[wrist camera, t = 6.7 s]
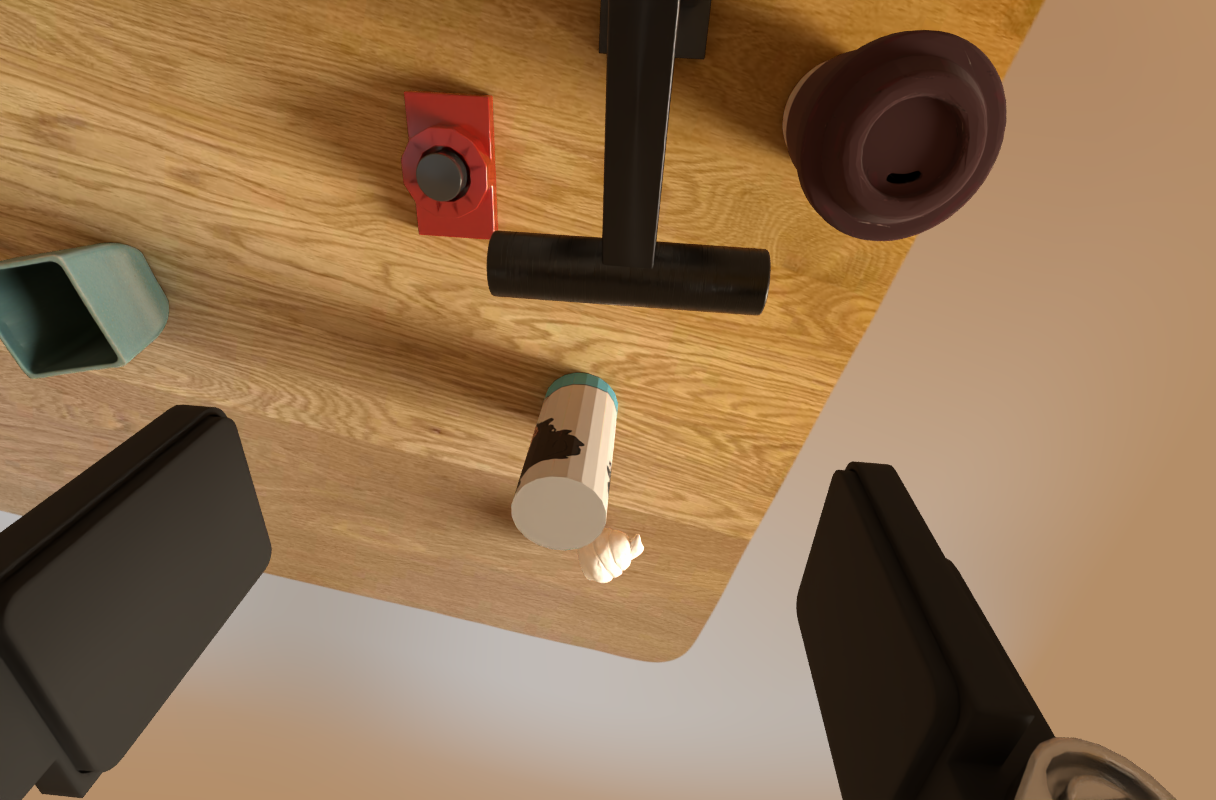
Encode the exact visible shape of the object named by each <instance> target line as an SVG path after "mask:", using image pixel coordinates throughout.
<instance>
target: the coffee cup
mask: <svg viewBox="0 0 1216 800" xmlns="http://www.w3.org/2000/svg"><path fill="white" fill-rule="evenodd" d="M1005 126H1006V99H1005V94H1004V89H1003V85H1002V82H1001V80H1000V77H999V75H998V73H997V71H996V69H995V67H994V66H993V64H992V63H991V61H990V60H989V59H988V57H987V56H986V55H985V54H984V53H983V52H982V51H981V50H980V49H979V48H977V47H976V46H975V45H973V44H972V43H970V42H969V41H967V40H965V39H963V38H961V37H959V36H956V35H953V34H950V33H946V32H941V31H931V30H917V31H905V32H899V33H894V34H890V35H887V36H884V37H881V38H878V39H876V40H874V41H872V42H870V43H868V44H866V45H864V46H862V47H860V48H859V49H857V50H854V51H850V52H846V53H843V54H841V55H838V56H836V57H834V58H832V59H831V60H828V61H825V62H823V63H821V64H819V65H818V66H816V67H814V68H813V69H812V70H810V71H809V72H808V73H807V74H806V75H805V76H804V77H803V78H802V79H801V80H800V81H799V82H798V83H797V85H796V86H795V88H794V89H793V91H792V93H791V94H790V96H789V99H788V101H787V104H786V107H785V110H784V115H783V135H784V140H785V143H786V146H787V148H788V152H789V155H790V158H791V160H792V162H793V164H794V166H795V167H796V169H797V172H798V177H799V181H800V184H801V187H802V189H803V192H804V194H805V196H806V198H807V199H808V201H809V203H810V204H811V205H812V207H813V208H814V209H815V210H816V212H817V213H818V214H819V215H820V216H821V217H822V218H823V219H824V220H825V221H826V222H827V223H829V224H830V225H831V226H832V227H834V228H836V229H837V230H839V231H841V232H842V233H844V234H847V235H849V236H852V237H855V238H859V239H863V240H871V241H892V240H898V239H903V238H907V237H910V236H913V235H917V234H920V233H922V232H924V231H926V230H928V229H930V228H933V227H934V226H936V225H938V224H940V223H941V222H943V221H945V220H946V219H948V218H949V217H950V216H952V215H953V214H954V213H955V212H956V211H958V210H959V209H960V208H961V207H962V206H964V205H965V203H966V202H967V201H969V200H970V199H971V197H972V196H973V195H974V194H975V193H976V192H977V190H978V189H979V187H980V186H981V185H982V184H983V182H984V181H985V179H986V178H987V176H988V174H989V172H990V171H991V168H992V167H993V165H994V163H995V161H996V159H997V156H998V154H999V151H1000V148H1001V145H1002V142H1003V137H1004V131H1005Z"/></svg>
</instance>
